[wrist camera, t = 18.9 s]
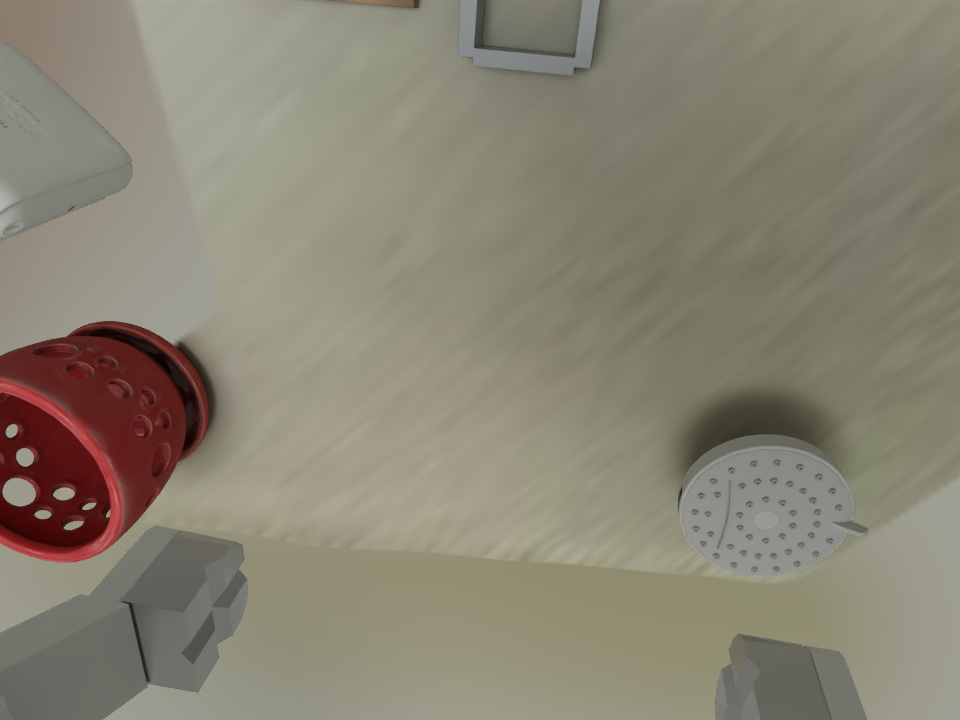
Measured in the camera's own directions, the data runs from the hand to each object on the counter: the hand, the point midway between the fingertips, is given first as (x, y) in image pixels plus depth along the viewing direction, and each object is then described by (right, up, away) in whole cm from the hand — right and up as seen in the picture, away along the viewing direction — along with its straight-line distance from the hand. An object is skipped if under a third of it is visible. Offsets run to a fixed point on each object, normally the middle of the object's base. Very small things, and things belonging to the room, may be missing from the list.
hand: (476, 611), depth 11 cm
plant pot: (-25, +3, +39) cm, 46 cm away
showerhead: (+18, -2, +33) cm, 38 cm away
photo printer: (-25, +19, +31) cm, 44 cm away
